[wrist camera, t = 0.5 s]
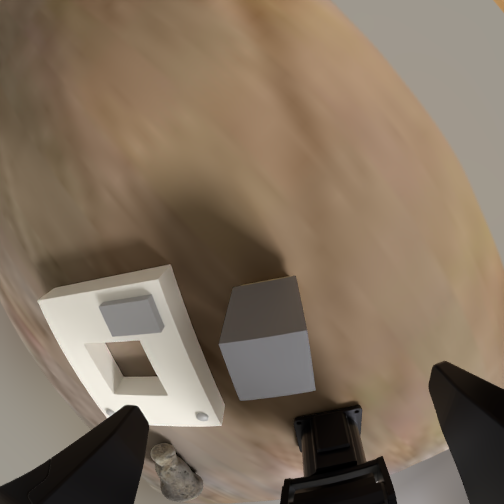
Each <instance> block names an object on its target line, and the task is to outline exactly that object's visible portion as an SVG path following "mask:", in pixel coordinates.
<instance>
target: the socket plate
mask: <svg viewBox="0 0 504 504" xmlns="http://www.w3.org/2000/svg"><path fill="white" fill-rule="evenodd" d="M38 303H39V305H40V307H41V310H42V312H43V314H44V316H45V318H46V320H47V322H48V324H49V326H50V328H51V330H52V332H53V334H54V336H55V338H56V340H57V341H58V343H59V345H60V347H61V349H62V350H63V352H64V354H65V356H66V357H67V359H68V361H69V363H70V364H71V366H72V367H73V369H74V371H75V372H76V374H77V376H78V377H79V379H80V380H81V382H82V383H83V385H84V386H85V388H86V389H87V391H88V392H89V394H90V395H91V397H92V398H93V399H94V401H95V402H96V404H97V405H98V406H99V408H100V409H101V411H102V412H103V413H104V415H105V416H106V417H107V418H108V417H110V416H111V415H113V414H114V413H115V412H117V411H118V410H119V409H121V408H122V407H123V406H125V405H136V406H138V407H139V408H140V410H141V411H142V413H143V414H144V416H145V418H146V419H147V421H148V423H149V425H157V426H222V421H223V415H224V409H225V404H224V402H223V399H222V397H221V395H220V393H219V390H218V388H217V386H216V384H215V381H214V379H213V376H212V374H211V372H210V369H209V367H208V364H207V362H206V360H205V357H204V355H203V352H202V350H201V347H200V345H199V342H198V339H197V337H196V334H195V332H194V329H193V326H192V324H191V321H190V318H189V316H188V313H187V310H186V307H185V305H184V302H183V299H182V296H181V293H180V290H179V288H178V285H177V282H176V279H175V276H174V273H173V270H172V267H171V264H169V265H164V266H159V267H154V268H149V269H144V270H139V271H135V272H130V273H125V274H120V275H115V276H110V277H105V278H100V279H95V280H90V281H85V282H81V283H76V284H71V285H66V286H61V287H56V288H53V289H52V290H51V291H49V292H48V293H47V294H45V295H44V296H43V297H41V298H40V299H39V300H38ZM137 340H140V342H141V344H142V347H143V349H144V351H145V353H146V355H147V357H148V359H149V361H150V363H151V364H152V366H153V368H154V370H155V372H156V374H157V376H151V377H124V376H123V374H122V373H121V371H120V369H119V367H118V366H117V364H116V362H115V360H114V358H113V357H112V355H111V353H110V351H109V349H108V347H107V345H106V342H123V341H137Z"/></svg>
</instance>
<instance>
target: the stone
mask: <svg viewBox="0 0 504 504" xmlns="http://www.w3.org/2000/svg"><path fill="white" fill-rule="evenodd" d="M150 454H151V458H152V459H153V460H154V461H155V462H156V465H155V468H156V472H157V474H158V476H159V478H160V482H161V491H162V493H163V495H164V496H165V497H166V498H167V499H169V500H172V501H177V502H184V501H189V500H192V499H194V498H196V497H197V496H198V495H199V494H201V492H202V490H203V480H202V479H201V477H200V476H198V475H197V474H196V473H194V472H192V471H191V469H190V467H189V466H188V465H187V464H186V463H185V462H184V461H183V460H182V459H181V458H180V457H178V456H177V455H176V450H175V448H174V447H173V446H172V445H171V444H168V443H160V444H157V445H156V446H154V447H153V448H152V450H151V453H150Z"/></svg>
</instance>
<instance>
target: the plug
mask: <svg viewBox="0 0 504 504" xmlns="http://www.w3.org/2000/svg"><path fill="white" fill-rule="evenodd" d="M219 347H220V349H221V352H222V355H223V358H224V360H225V363H226V366H227V368H228V371H229V374H230V376H231V379H232V382H233V384H234V387H235V389H236V392H237V395H238V397H239V400H240V401H245V400H255V399H263V398H272V397H279V396H286V395H293V394H299V393H305V392H310V391H316V389H315V381H314V374H313V367H312V360H311V353H310V346H309V339H308V333H307V327H306V322H305V317H304V313H303V308H302V303H301V298H300V293H299V289H298V284H297V279H296V276H291V277H289V276H288V277H282V278H277V279H272V280H266V281H261V282H255V283H250V284H244V285H242V286H237V287H233V289H232V293H231V297H230V301H229V305H228V309H227V313H226V317H225V321H224V324H223V328H222V332H221V336H220V340H219Z"/></svg>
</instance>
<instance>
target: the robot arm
mask: <svg viewBox="0 0 504 504" xmlns="http://www.w3.org/2000/svg"><path fill="white" fill-rule="evenodd" d="M429 392H430V395H431V398H432V401H433V404H434V407H435V410H436V413H437V417H438V420H439V423H440V426H441V429H442V432H443V434H444V437H445V439H446V442H447V444H448V446H449V449H450V451H451V453H452V456H453V458H454V461H455V463H456V466H457V469H458V471H459V474H460V477H461V479H462V482H463V485H464V488H465V491H466V494H467V497H468V500H469V503H470V504H504V389H502V388H500V387H498V386H496V385H494V384H492V383H490V382H488V381H486V380H483V379H481V378H479V377H477V376H475V375H473V374H471V373H469V372H467V371H465V370H463V369H461V368H459V367H457V366H455V365H453V364H451V363H449V362H447V361H443V362H440V363H437V364H435V365H434V366H433V367H432V371H431V376H430V380H429ZM361 421H362V408H361V406H359V405H357V406H353V407H348V408H344V409H339V410H335V411H330V412H325V413H319V414H314V415H308V416H302V417H297V418H295V419H294V427H295V431H296V436H297V440H298V445H299V449H300V452H302V456H303V470H304V477H301V478H295V479H291V478H289V479H285V480H284V486H282V493H281V501H280V504H397V501H396V496H395V491H394V488H393V484H392V481H391V479H390V476H389V473H388V470H387V467H386V464H385V461H384V459H383V456H381V457H378V458H377V459H375V460H371V461H368V462H366V458H365V454H364V450H363V446H362V442H361V438H360V434H361ZM148 431H149V423H148V421H147V419H146V418H145V416H144V414H143V413H142V411H141V410H140V408H139V407H138V406H136V405H125V406H123V407H122V408H121V409H119V410H118V411H117V412H115V413H114V414H113V415H111V416H110V417H108V418H107V419H106V420H104V421H103V422H102V423H100V424H99V425H98V426H96V427H95V428H93V429H92V430H91V431H89V432H88V433H87V434H85V435H84V436H82V437H81V438H79V439H78V440H77V441H75V442H74V443H72V444H71V445H69V446H68V447H67V448H65V449H64V450H62V451H61V452H60V453H58V454H56V455H55V456H53V457H52V458H51V459H49V460H48V461H46V462H45V463H43V464H42V465H40V466H38V467H37V468H35V469H34V470H32V471H30V472H28V473H26V474H24V475H23V476H21V477H19V478H17V479H15V480H13V481H11V482H9V483H6V484H4V485H2V486H0V504H134V501H135V497H136V493H137V489H138V485H139V481H140V477H141V473H142V469H143V464H144V458H145V451H146V444H147V438H148ZM377 481H378V483H376V482H377Z"/></svg>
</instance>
